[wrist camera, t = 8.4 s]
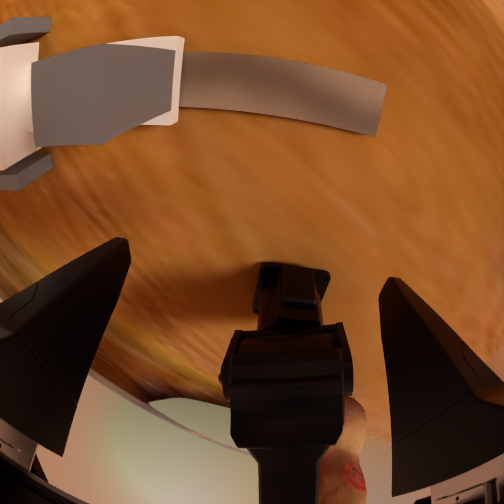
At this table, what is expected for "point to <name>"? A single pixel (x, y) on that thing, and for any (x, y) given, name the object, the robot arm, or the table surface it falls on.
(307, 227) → the table surface
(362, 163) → the table surface
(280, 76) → the rail
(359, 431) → the butternut squash
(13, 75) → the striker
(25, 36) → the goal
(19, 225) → the table surface
